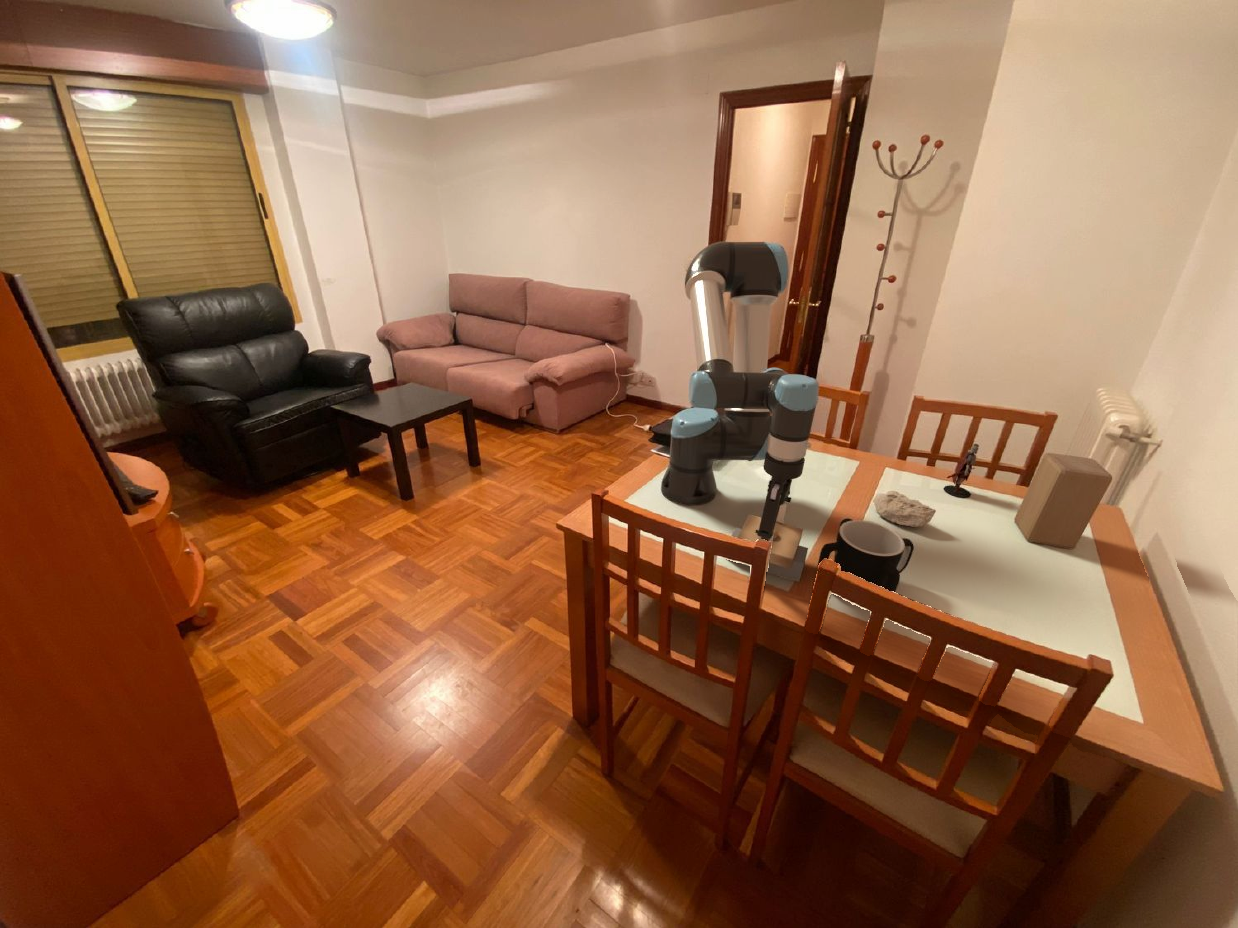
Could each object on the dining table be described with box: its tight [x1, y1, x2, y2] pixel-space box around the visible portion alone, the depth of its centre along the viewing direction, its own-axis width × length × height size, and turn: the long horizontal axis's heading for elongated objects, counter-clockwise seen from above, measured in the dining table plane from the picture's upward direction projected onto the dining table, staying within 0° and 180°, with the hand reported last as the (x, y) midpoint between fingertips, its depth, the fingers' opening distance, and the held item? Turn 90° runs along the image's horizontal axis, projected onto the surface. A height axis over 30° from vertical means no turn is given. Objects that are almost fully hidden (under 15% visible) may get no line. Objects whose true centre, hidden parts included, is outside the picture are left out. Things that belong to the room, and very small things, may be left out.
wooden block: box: [1014, 452, 1113, 550], centre depth 118 cm, size 10×10×20 cm
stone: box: [872, 490, 937, 528], centre depth 126 cm, size 8×12×10 cm
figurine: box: [943, 443, 980, 499], centre depth 137 cm, size 7×7×15 cm
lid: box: [737, 514, 804, 569], centre depth 108 cm, size 12×12×4 cm
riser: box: [731, 527, 809, 583], centre depth 110 cm, size 16×6×5 cm, turn 62°
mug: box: [817, 517, 915, 593], centre depth 103 cm, size 16×16×12 cm
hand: (769, 542), depth 108 cm, fingers open, 13 cm apart
